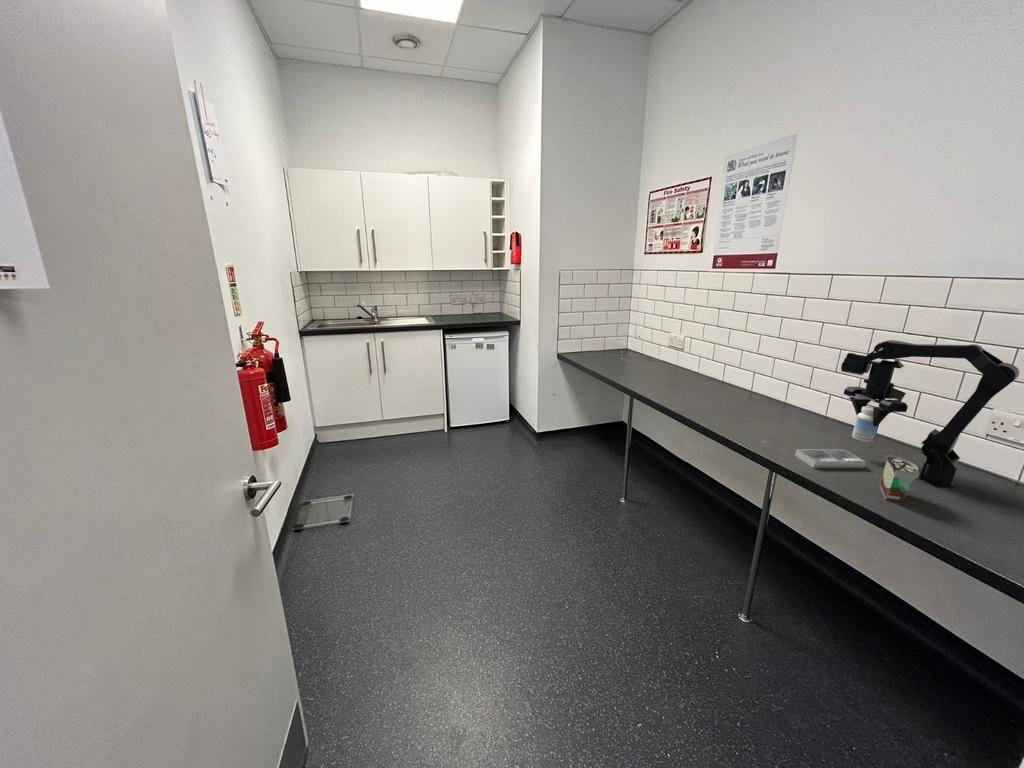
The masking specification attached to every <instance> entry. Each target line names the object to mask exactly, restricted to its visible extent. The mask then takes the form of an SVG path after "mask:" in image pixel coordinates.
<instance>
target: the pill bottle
mask: <svg viewBox="0 0 1024 768" xmlns="http://www.w3.org/2000/svg"><path fill="white" fill-rule="evenodd" d="M873 407H874V406H868V405H867V406H863V407H862V413H859V414H858V415H856V419H855V422H854V426H853V430H852V434H851V437H852V438H853V439H855V440H857V441H860V442H865V443H873V442H875V440H876V437H877V433H878V429H879V426H880V424H879V425H878V426H873Z"/></svg>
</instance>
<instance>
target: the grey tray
mask: <svg viewBox="0 0 1024 768" xmlns="http://www.w3.org/2000/svg"><path fill="white" fill-rule="evenodd" d="M794 456H795V458H798V459H799V460H800V459H801V460H800V461H802V462H803V461H804V463H805V464H806V463H807V465H808V466H809V465H810V466H809V467H811V468H812V467H813V469H864V468H865V466H866V461H865V460H864V459H862V458H861V457H859V456H857V455H855V454H853V453H852V452H850V451H848V450H846V449H842V448H840V449H833V448H831V449H828V448H827V449H826V448H824V449H820V448H819V449H812V448H811V449H808V448H806V449H804V448H803V449H800V448H798V449H796V450H795V455H794Z"/></svg>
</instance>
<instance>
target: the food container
mask: <svg viewBox="0 0 1024 768" xmlns="http://www.w3.org/2000/svg"><path fill="white" fill-rule="evenodd" d="M919 475H920V470H919V466H917V465H916V464H915V463H913V462H911V461H909V460H907V459H905V458H902V457H898V456H896V455H892V454H891V455H890V454H887V456H886V459H885V464H884V468H883V472H882V475H881V478H880V481H879V488H880V490H881V492H882V494H883V497H884V499H885V501H889V502H896V501H900V502H904V501H905V500H906V498H907V496H908V493H909V492H910V489H911V487H912V485H913V483H914V480H915V479H919Z"/></svg>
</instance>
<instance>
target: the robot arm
mask: <svg viewBox="0 0 1024 768" xmlns="http://www.w3.org/2000/svg"><path fill="white" fill-rule="evenodd" d="M913 357H914V358H936V359H937V358H941V359H965V360H966V361H967V362H969V363H970V364H971V366H973V368H975V369H976V370H977V371H978V372H980V374H982V376H981V377H980V379H979V381H978V384H977V386H976V389H975V391H973V393H972V394H971V395H970V397H969V398H968V399H967V400H966V401H965V403H964V404H963V405H962V406H961V408H960V409H958V411H957V412H956V413H955V415H954V416H953V417H952V418H951V419H950V420H949V422H948V423H947V424H946V425H945V426H944V427H943V428H942V430H940V431H939V430H938V429H936V428H934V429H933V430H931V431H930V432H929V433H928V434H927V437H925V439H924V440H923V441H921V442H920V444H922V445H921V447H920V449H921V452H922V454H923V455H924V456H925V457H926V461H925V462H924V463H923V466H922V469H921V471H920V474H919V477H918V479H921V480H923V481H925V482H926V483H928V484H930V485H932V486H934V487H956V486H957V485H956V484H955V483H953V481H954V477H955V475H956V472H957V470H958V468H957V467H955V465H956V463H958V461H960V459H961V457H960V456H959V454H958V453H957V452H955V450H954V447H956V444H957V442H958V440H959V437H960V436H961V434H962V432H964V431H965V429H966V428H967V427H968V426H969V424H971V422H972V421H973V420H974V419H975V418H976V416H978V414H980V412H981V411H982V410H983V409H984V408H985V406H986V405H987V404H988V403H989V402H990V401H991V400H992V399H993V397H995V396H996V395H997V394H999V393H1000V392H1001V391H1003V390H1004V389H1005V388H1006V387H1008V386H1009V385H1010V384H1011V383H1013V382H1014V381H1016V379H1018V377H1020V371H1019V368H1018V367H1017V366H1016V365H1015V364H1012V363H1009V362H1004V361H1002V360H1001V359H1000V358H998V357H997V356H995V355H994V354H992V353H990V352H989V351H987V350H985V349H984V348H983V346H981V345H979V344H975V343H974V344H971V343H970V344H928V343H926V344H921V343H919V344H918V343H917V344H916V343H911V342H907V341H901V340H894V339H893V340H892V339H889V340H885V341H881V342H879V343H877V344H876V345H874V347H873V350H872V351H871V352H870V353H867V354H866V355H863V354H857V353H854V352H848V353H847V354H846V357H845V358H844V360H843V361H842V363H841V368H840V371H841V372H842V373H848V374H854V375H858V376H863V375H865V374H868V377H867V379H863V383H864V384H865V385H866V386H865V388H864V387H862V386H846V388H844V391H843V395H845V396H847V397H849V398H848V399H849V400H850V401H851V404H852V406H853V408H854V411H855V412H854V413H855V415H856V416H857V415H858V414H859V413H862V407H863V406H868V404H869V403H870V402H874V403H877V404H878V406H872V407H873V426H878V425H879V426H880V424H881V423H882V422H883V420H885V418H886V417H887V416H888V415H889V414H890V413H907V411H908V407H909V405H908V404H907V403H906V402H904V401H902V400H903V399H904V398H905V396H906V395H907V392H905V391H902V390H900V389H896V388H895V384H894V383H893V382H891V381H892V379H893V375H894V372H895V369H903V368H904V367H905V365H904V364H903V363H902V362H901V361H900V359H902V358H903V359H904V358H913ZM879 359H880V361H877V360H879ZM875 360H876V361H875ZM893 360H894V361H893ZM879 426H878V427H879Z"/></svg>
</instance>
